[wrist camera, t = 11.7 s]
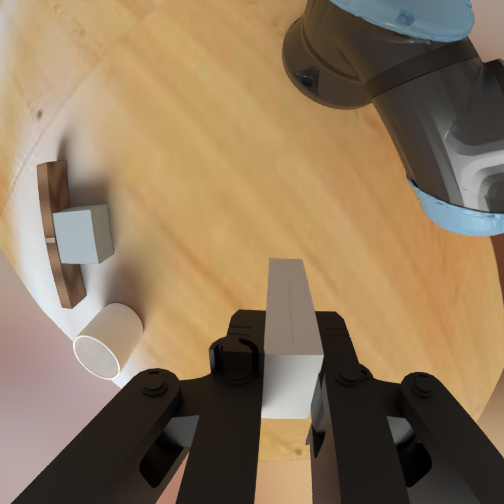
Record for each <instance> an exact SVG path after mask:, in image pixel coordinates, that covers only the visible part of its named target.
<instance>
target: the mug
mask: <svg viewBox="0 0 504 504" xmlns="http://www.w3.org/2000/svg"><path fill="white" fill-rule="evenodd" d="M142 335H143V325H142V322H141V320H140V318H139V317H138V315H137V314H136V313H135V312H134V311H133V310H132V309H131V308H129V307H128V306H126V305H123V304H120V303H111V304H109V305H107V306H106V307H104V308H103V309H102V310H101V311H100V312H99V313H98V314H97V315H96V316H95V317H94V319H93V320H92V321H91V322H90V323H89V324H88V325H87V326H86V327H85V328H84V329H83V330H82V331H81V332H80V334H79V335H78V336H77V337H76V338H75V339H74V342H73V349H74V352H75V355H76V357H77V359H78V360H79V362H80V363H81V364H82V365H83V366H84V367H85V368H86V369H87V370H88V371H89V372H91V373H92V374H94V375H95V376H98V377H100V378H103V379H114V378H116V377H117V376H118V375H119V374H120V372H121V371H122V369H123V367H124V366H125V364H126V362H127V361H128V359H129V358H130V356H131V354H132V353H133V351H134V350H135V348H136V346H137V345H138V343H139V342H140V340H141V338H142Z"/></svg>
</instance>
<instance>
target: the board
mask: <svg viewBox="0 0 504 504" xmlns="http://www.w3.org/2000/svg"><path fill="white" fill-rule="evenodd" d="M37 178H38V190H39V200H40V209H41V216H42V223H43V229H44V235H45V243H46V246H47V251H48V256H49V260H50V265H51V269H52V273H53V277H54V281H55V285H56V288H57V292H58V296H59V299H60V302H61V306H62V307H63V308H69V309H72V308H74V307H75V306H76V305H77V304H78V303H79V302H80V301H81V300H83V299H84V298H85V297H86V296H87V295H86V291H85V287H84V283H83V279H82V275H81V270H80V266H79V264H68V263H61V260H60V255H59V250H58V245H57V239H56V234H55V228H54V221H53V213H55V212H58V211H61V210H64V209H67V208H70V204H69V194H68V183H67V168H66V160H63V161H54V162H46V163H42V164H39V165H37Z"/></svg>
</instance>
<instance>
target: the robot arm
mask: <svg viewBox="0 0 504 504" xmlns="http://www.w3.org/2000/svg"><path fill="white" fill-rule="evenodd" d="M471 7H472V5H471V2H470V0H308V3H307V7H306V11H305V15H304V16H303V17H301V18H299V19H298V20H297V21H295V22H294V23H293V24H292V25H291V27H290V28H289V30H288V31H287V33H286V35H285V38H284V42H283V48H282V60H283V65H284V68H285V71H286V73H287V75H288V77H289V78H290V80H291V81H292V83H293V84H294V85H295V86H296V87H297V88H298V89H299V90H300V91H301V92H302V93H303V94H304V95H306V96H307V97H308V98H310V99H311V100H313V101H315V102H317V103H319V104H321V105H324V106H327V107H331V108H335V109H344V110H349V109H357V108H361V107H364V106H366V105H368V104H370V103H373V104H374V106H375V108H376V110H377V112H378V113H379V115H380V117H381V119H382V121H383V123H384V125H385V126H386V129H387V131H388V133H389V135H390V137H391V139H392V141H393V143H394V145H395V147H396V150H397V152H398V154H399V156H400V159H401V161H402V163H403V166H404V168H405V171H406V177H407V180H408V182H409V184H410V185H411V186H412V188H414V190H415V193H416V195H417V197H418V200H419V202H420V205H421V207H422V209H423V211H424V213H425V214H426V216H427V217H428V218H429V219H430V220H432V221H433V222H435V223H436V224H437V225H438V226H440V227H441V228H443V229H445V230H448V231H450V232H453V233H457V234H461V235H467V236H491V235H497V234H501V233H504V60H502V59H496V60H493V61H489V62H486V63H484V62H482V60H481V58H480V57H479V55H478V53H477V51H476V50H475V48H474V46H473V44H472V43H471V41H470V39H469V38H468V36H467V35H468V34H469V33H470V31H471V29H472V27H473V24H474V13H473V12H472V11H471V10H470V9H471ZM209 358H210V368H211V373H210V374H209V375H206V376H204V377H201V378H197V379H190V380H180V381H179V379H178V378H177V377H176V375H175V374H174V373H172V372H170V371H168V370H165V369H160V368H155V369H147V370H145V371H142V372H140V373H138V374H137V375H136V376H134V377H133V378H132V379H131V380H130V381H129V382H128V383H127V384H126V385H125V386H124V387H123V388H122V389H121V391H120V392H119V393H118V394H117V395H116V396H115V397H114V398H113V399H112V400H111V401H110V402H109V403H108V404H107V405H106V406H105V407H104V408H103V409H102V410H101V411H100V412H99V413H98V414H97V416H95V418H93V419H92V420H91V422H90V423H89V424H88V425H87V426H86V427H85V428H84V429H83V430H82V431H81V432H80V433H79V434H78V435H77V436H76V437H75V438H74V439H73V440H72V441H71V442H70V444H68V445H67V446H66V447H65V448H64V449H63V450H62V451H61V452H60V454H59V455H58V456H57V457H56V458H55V459H54V460H53V461H52V462H51V463H50V464H49V465H48V466H47V467H46V468H45V469H44V470H43V471H42V472H41V473H40V474H39V475H38V476H37V477H36V478H35V479H34V480H33V481H32V483H30V485H28V486H27V488H26V489H25V490H24V491H23V492H22V493H21V494H20V495H19V496H18V497H17V498H16V499H15V500H14V501H13V502H12V503H11V504H155V503H156V502H157V500H158V499H159V497H160V496H161V494H162V493H163V491H164V490H165V488H166V487H167V485H168V484H169V482H170V481H171V479H172V477H173V476H174V474H175V473H176V471H177V470H178V468H179V467H180V465H181V464H182V462H183V460H184V459H185V457H186V455H187V454H188V452H189V451H190V452H189V456H188V459H187V463H186V467H185V470H184V474H183V478H182V481H181V485H180V489H179V492H178V496H177V500H176V504H254V500H255V489H256V477H257V465H258V453H259V440H260V426H261V418H278V419H309V415H310V411H311V417H312V423H311V426H310V429H309V433H308V436H307V439H306V444H305V445H309V443H310V455H311V472H312V473H311V474H312V499H313V504H504V458H503V457H502V455H501V454H500V453H499V451H498V450H497V449H496V447H495V446H494V445H493V444H492V443H491V441H490V440H489V439H488V437H487V436H486V435H485V434H484V432H483V431H482V430H481V429H480V428H479V426H478V425H477V424H476V423H475V421H474V420H473V419H472V418H471V417H470V415H469V414H468V413H467V412H466V411H465V409H464V408H463V407H462V406H461V405H460V404H459V402H458V401H457V400H456V399H455V398H454V397H453V395H452V394H451V393H450V392H449V391H448V390H447V389H446V387H445V386H444V385H443V384H442V383H441V382H440V381H439V380H438V379H437V378H436V377H434V376H433V375H430V374H428V373H424V372H414V373H410V374H408V375H407V376H405V377H404V379H403V381H402V382H401V384H399V383H392V382H385V381H381V380H377V379H375V378H373V375H372V374H371V372H370V371H369V369H367V368H366V367H365V366H363V365H362V364H359V361H358V358H357V355H356V352H355V350H354V347H353V344H352V341H351V338H350V337H349V333H348V330H347V327H346V324H345V321H344V319H343V318H342V317H341V316H340V315H339V314H338V313H337V312H329V311H314V306H313V302H312V297H311V293H310V289H309V285H308V280H307V276H306V272H305V268H304V264H303V260H302V259H276V258H269V274H268V291H267V307H266V311H260V310H241V309H239V310H238V311H237V312H236V313H235V314H234V315H233V316H232V317H231V320H230V324H229V328H228V332H227V335H226V337H223V338H220V339H218V340H217V341H215V342H214V343H212V345H211V346H210V348H209Z"/></svg>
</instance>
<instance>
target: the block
mask: <svg viewBox="0 0 504 504" xmlns="http://www.w3.org/2000/svg"><path fill="white" fill-rule="evenodd" d="M53 221H54V228H55V234H56V239H57V245H58V250H59V255H60V260H61V263H68V264H100V263H101V262H103V261H104V260H106V259H107V258H109V257H110V256H111V255H113V254H114V250H113V244H112V237H111V230H110V223H109V215H108V206H107V204H99V205H89V206H79V207H70V208H67V209H64V210H61V211H58V212H55V213H53Z"/></svg>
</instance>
